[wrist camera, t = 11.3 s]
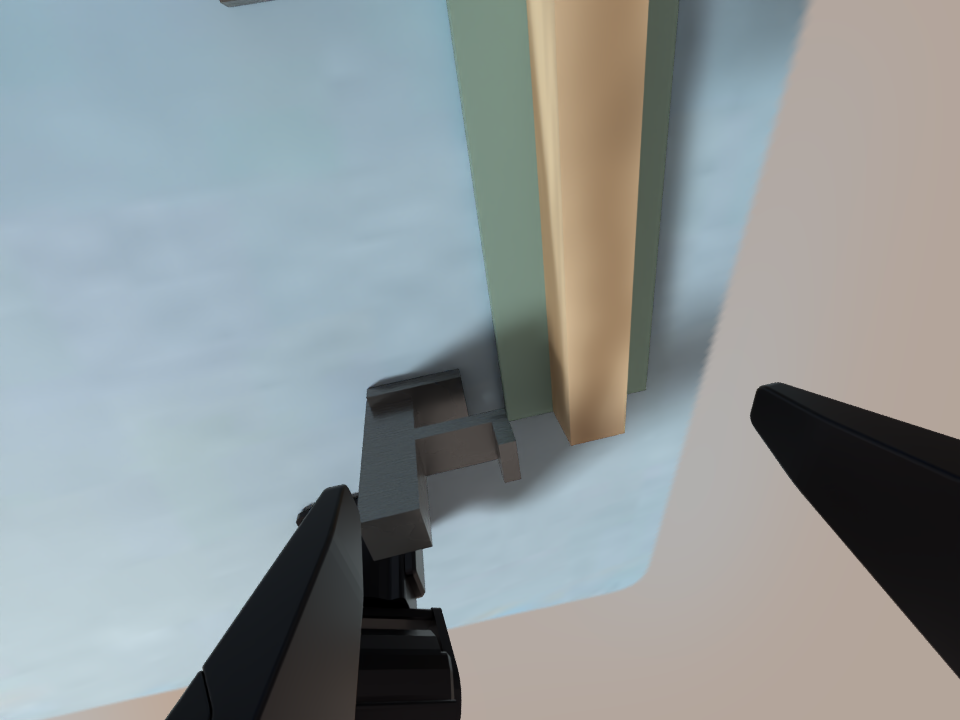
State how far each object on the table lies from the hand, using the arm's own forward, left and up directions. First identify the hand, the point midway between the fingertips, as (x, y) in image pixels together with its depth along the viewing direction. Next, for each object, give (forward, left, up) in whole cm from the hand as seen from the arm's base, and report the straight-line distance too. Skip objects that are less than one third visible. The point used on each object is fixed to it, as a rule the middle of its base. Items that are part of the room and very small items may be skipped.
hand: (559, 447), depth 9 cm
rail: (+5, +2, -12) cm, 13 cm away
